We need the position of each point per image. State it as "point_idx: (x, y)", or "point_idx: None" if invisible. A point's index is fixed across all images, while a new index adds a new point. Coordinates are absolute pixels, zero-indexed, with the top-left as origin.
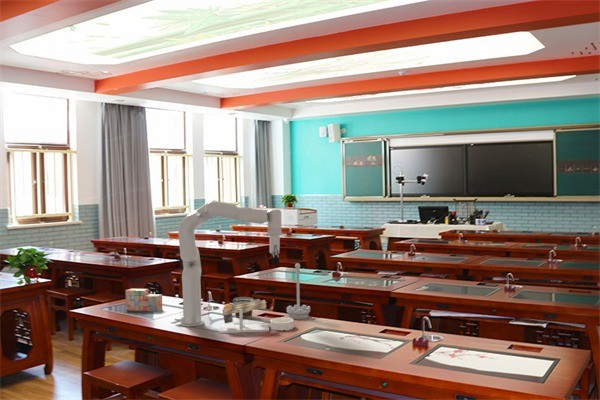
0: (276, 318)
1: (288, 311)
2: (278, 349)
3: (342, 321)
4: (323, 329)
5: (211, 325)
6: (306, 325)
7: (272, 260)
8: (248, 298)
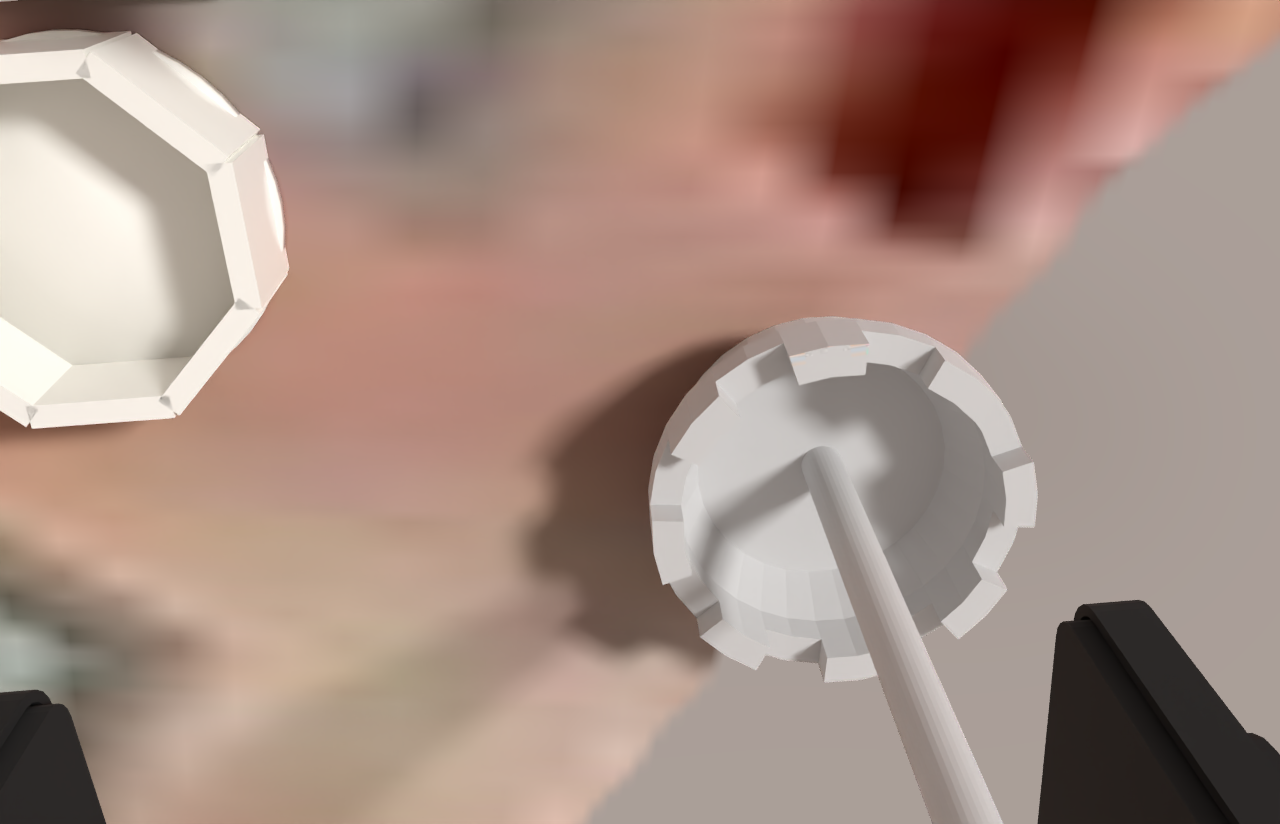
0: (189, 156)
1: (751, 352)
2: None
3: None
4: None
5: None
6: (268, 544)
7: (1101, 708)
8: None
